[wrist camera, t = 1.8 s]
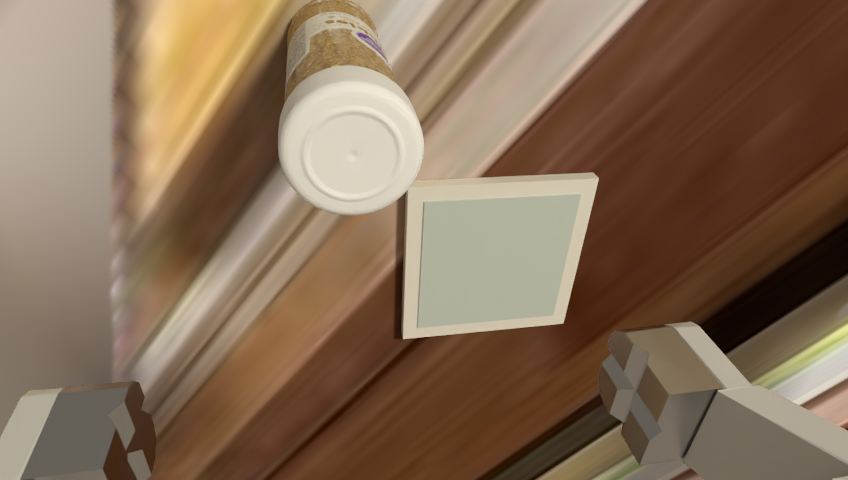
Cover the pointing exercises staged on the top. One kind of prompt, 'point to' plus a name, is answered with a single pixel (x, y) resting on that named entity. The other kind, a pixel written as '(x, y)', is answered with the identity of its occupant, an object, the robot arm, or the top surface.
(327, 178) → the sprinkles bottle
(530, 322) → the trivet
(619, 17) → the top surface
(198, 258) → the top surface
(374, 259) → the top surface
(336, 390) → the top surface
